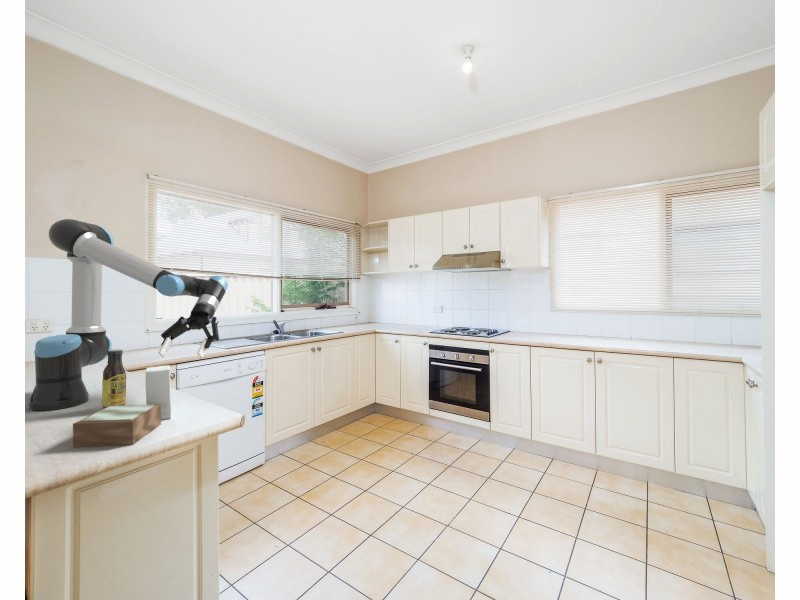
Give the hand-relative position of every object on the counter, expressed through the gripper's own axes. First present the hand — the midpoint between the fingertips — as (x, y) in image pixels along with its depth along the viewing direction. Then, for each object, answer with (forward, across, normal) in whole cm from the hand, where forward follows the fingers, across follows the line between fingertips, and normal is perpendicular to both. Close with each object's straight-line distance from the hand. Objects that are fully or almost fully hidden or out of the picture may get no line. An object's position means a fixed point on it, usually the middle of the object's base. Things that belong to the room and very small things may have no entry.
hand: (180, 355), depth 125 cm
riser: (+30, +1, +5) cm, 31 cm away
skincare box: (+20, 0, -5) cm, 21 cm away
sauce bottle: (+16, +20, -9) cm, 27 cm away
